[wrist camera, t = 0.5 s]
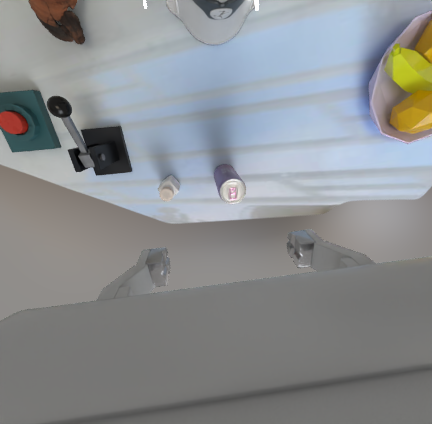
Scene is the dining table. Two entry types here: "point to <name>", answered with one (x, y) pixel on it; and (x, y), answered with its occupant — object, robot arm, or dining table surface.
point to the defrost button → (13, 122)
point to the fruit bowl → (405, 84)
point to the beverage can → (229, 184)
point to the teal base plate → (29, 121)
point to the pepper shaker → (168, 188)
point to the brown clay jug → (59, 19)
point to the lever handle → (70, 126)
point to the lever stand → (104, 151)
